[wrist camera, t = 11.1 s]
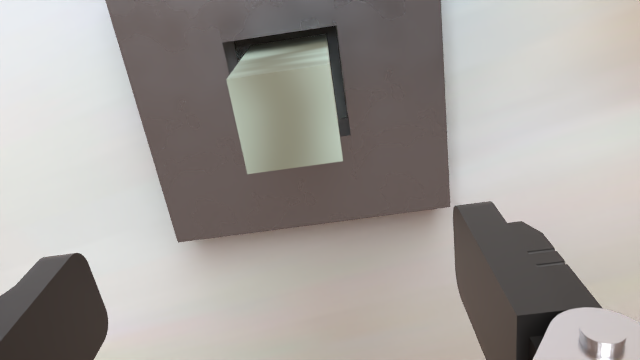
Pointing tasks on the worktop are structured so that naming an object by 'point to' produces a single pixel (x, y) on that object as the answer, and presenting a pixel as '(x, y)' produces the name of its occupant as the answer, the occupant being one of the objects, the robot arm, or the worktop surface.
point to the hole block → (355, 131)
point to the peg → (286, 105)
